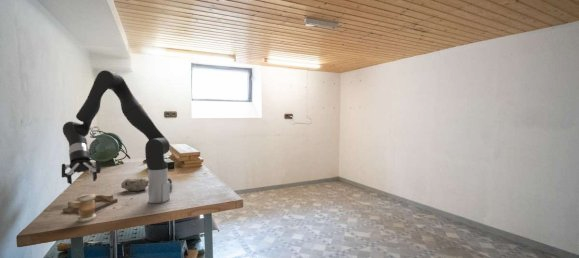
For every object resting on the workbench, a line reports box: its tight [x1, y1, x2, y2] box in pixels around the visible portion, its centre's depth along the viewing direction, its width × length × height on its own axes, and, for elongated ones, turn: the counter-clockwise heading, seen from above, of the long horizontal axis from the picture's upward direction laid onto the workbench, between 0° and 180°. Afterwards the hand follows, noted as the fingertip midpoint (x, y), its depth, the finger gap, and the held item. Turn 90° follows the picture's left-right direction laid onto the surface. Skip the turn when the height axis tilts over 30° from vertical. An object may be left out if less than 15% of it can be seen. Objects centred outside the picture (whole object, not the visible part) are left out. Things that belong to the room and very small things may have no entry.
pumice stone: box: [120, 178, 148, 192], centre depth 153 cm, size 14×12×8 cm
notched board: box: [62, 193, 119, 214], centre depth 125 cm, size 14×16×4 cm
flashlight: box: [168, 177, 173, 192], centre depth 157 cm, size 15×5×5 cm, turn 26°
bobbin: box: [76, 193, 97, 223], centre depth 110 cm, size 6×6×10 cm
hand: (83, 181), depth 118 cm, fingers open, 8 cm apart
